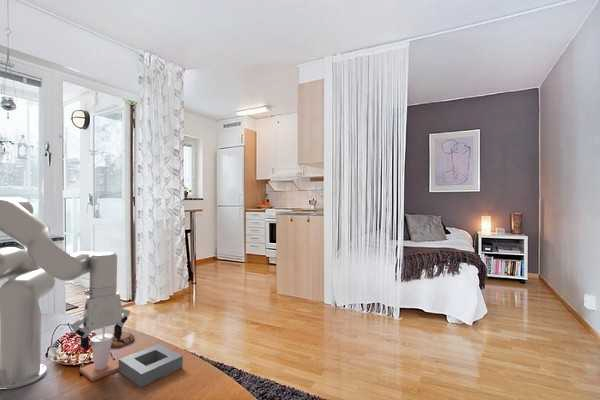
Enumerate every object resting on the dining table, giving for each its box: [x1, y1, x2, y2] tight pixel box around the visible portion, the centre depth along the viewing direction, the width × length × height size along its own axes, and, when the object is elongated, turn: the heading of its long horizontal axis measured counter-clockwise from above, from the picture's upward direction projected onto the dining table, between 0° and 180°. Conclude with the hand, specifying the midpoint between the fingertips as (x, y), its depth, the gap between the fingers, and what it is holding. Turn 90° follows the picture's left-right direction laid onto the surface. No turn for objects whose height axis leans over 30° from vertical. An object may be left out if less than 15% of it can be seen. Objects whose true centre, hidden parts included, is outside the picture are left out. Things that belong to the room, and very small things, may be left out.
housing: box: [117, 343, 184, 388], centre depth 105 cm, size 14×14×4 cm
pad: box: [79, 356, 119, 382], centre depth 104 cm, size 9×9×1 cm
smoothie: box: [89, 327, 113, 370], centre depth 104 cm, size 6×6×14 cm
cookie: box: [110, 331, 135, 349], centre depth 124 cm, size 10×11×3 cm
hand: (101, 343), depth 104 cm, fingers open, 9 cm apart
